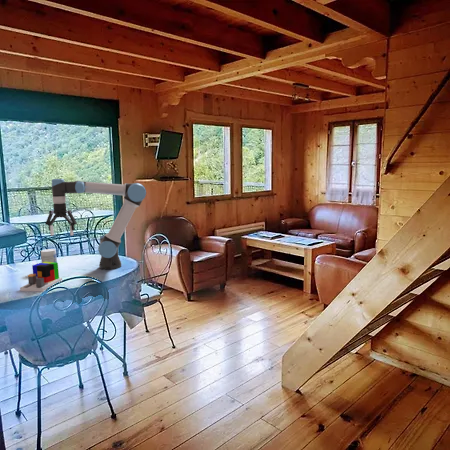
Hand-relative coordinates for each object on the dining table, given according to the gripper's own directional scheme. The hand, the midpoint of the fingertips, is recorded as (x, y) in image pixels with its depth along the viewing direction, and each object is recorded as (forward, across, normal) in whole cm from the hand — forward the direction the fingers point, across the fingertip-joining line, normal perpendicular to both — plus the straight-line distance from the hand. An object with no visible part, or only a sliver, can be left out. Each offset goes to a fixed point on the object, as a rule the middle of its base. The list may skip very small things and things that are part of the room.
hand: (62, 235), depth 251 cm
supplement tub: (+27, +16, -9) cm, 33 cm away
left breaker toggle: (+24, -2, +32) cm, 40 cm away
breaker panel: (+27, +2, +24) cm, 36 cm away
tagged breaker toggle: (+24, +6, +26) cm, 36 cm away
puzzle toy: (+25, +2, +18) cm, 31 cm away
